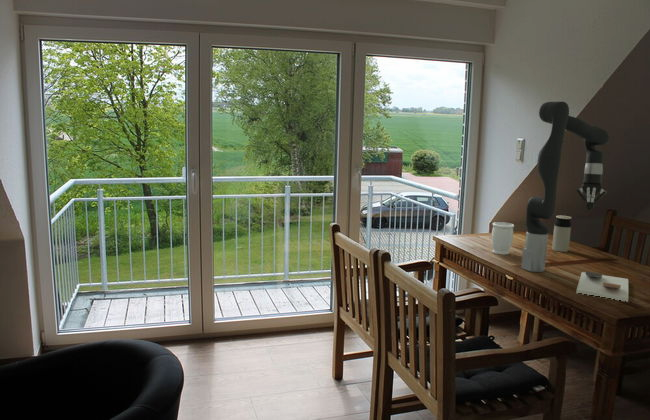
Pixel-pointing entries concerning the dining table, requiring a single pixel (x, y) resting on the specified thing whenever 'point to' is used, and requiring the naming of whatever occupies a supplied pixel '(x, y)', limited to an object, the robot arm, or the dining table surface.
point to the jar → (502, 237)
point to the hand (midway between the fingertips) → (589, 210)
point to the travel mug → (561, 234)
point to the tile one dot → (594, 274)
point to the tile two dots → (611, 285)
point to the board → (603, 287)
